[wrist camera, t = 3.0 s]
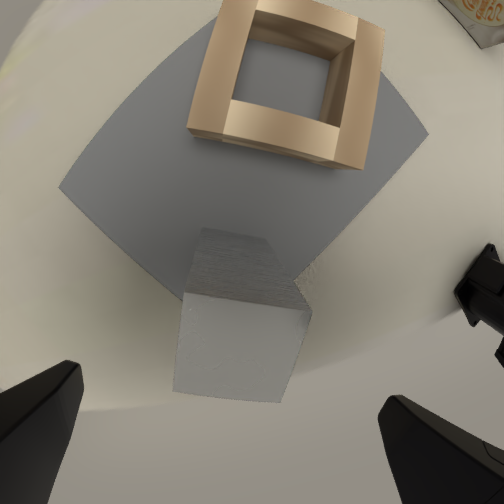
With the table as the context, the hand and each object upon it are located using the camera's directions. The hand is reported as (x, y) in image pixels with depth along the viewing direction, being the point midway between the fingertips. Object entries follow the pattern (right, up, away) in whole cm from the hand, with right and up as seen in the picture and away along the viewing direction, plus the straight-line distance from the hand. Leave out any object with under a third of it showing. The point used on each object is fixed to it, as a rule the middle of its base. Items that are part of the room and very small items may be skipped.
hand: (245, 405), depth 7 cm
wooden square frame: (+2, +14, +9) cm, 17 cm away
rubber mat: (0, +11, +10) cm, 15 cm away
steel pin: (-1, +3, +12) cm, 12 cm away
